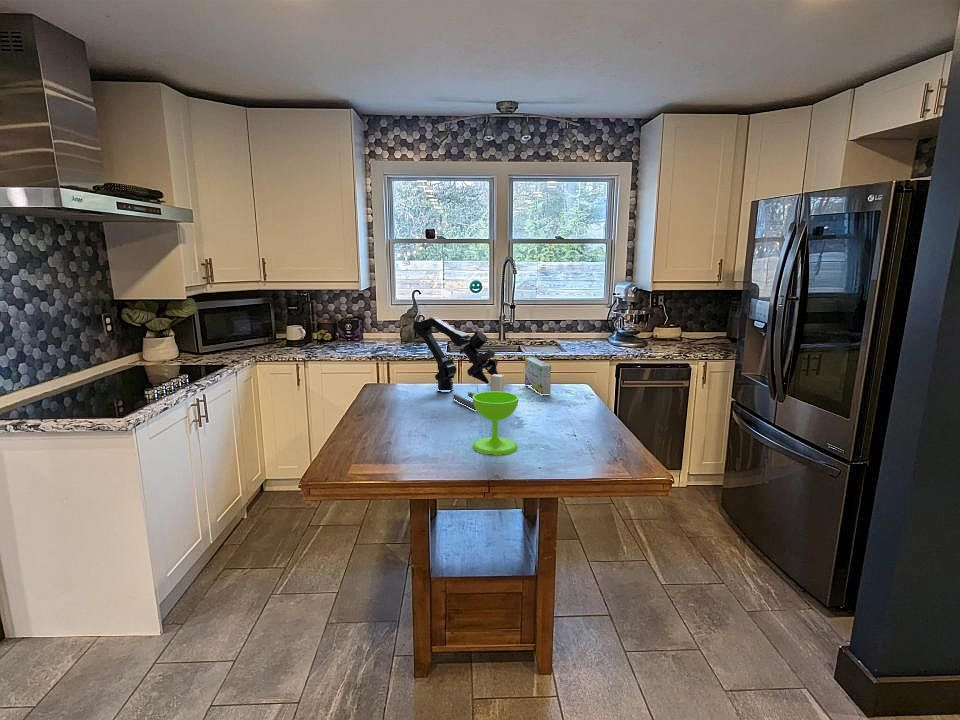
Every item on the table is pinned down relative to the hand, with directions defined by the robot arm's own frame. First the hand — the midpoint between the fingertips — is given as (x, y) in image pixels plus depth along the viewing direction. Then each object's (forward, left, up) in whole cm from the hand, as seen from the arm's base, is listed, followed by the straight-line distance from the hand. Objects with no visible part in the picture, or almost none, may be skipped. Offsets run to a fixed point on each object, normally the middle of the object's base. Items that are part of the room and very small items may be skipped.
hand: (493, 381), depth 241 cm
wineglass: (+20, -57, -9) cm, 62 cm away
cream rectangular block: (+2, 0, -9) cm, 9 cm away
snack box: (+14, +25, -9) cm, 30 cm away
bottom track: (-6, -11, -9) cm, 15 cm away
